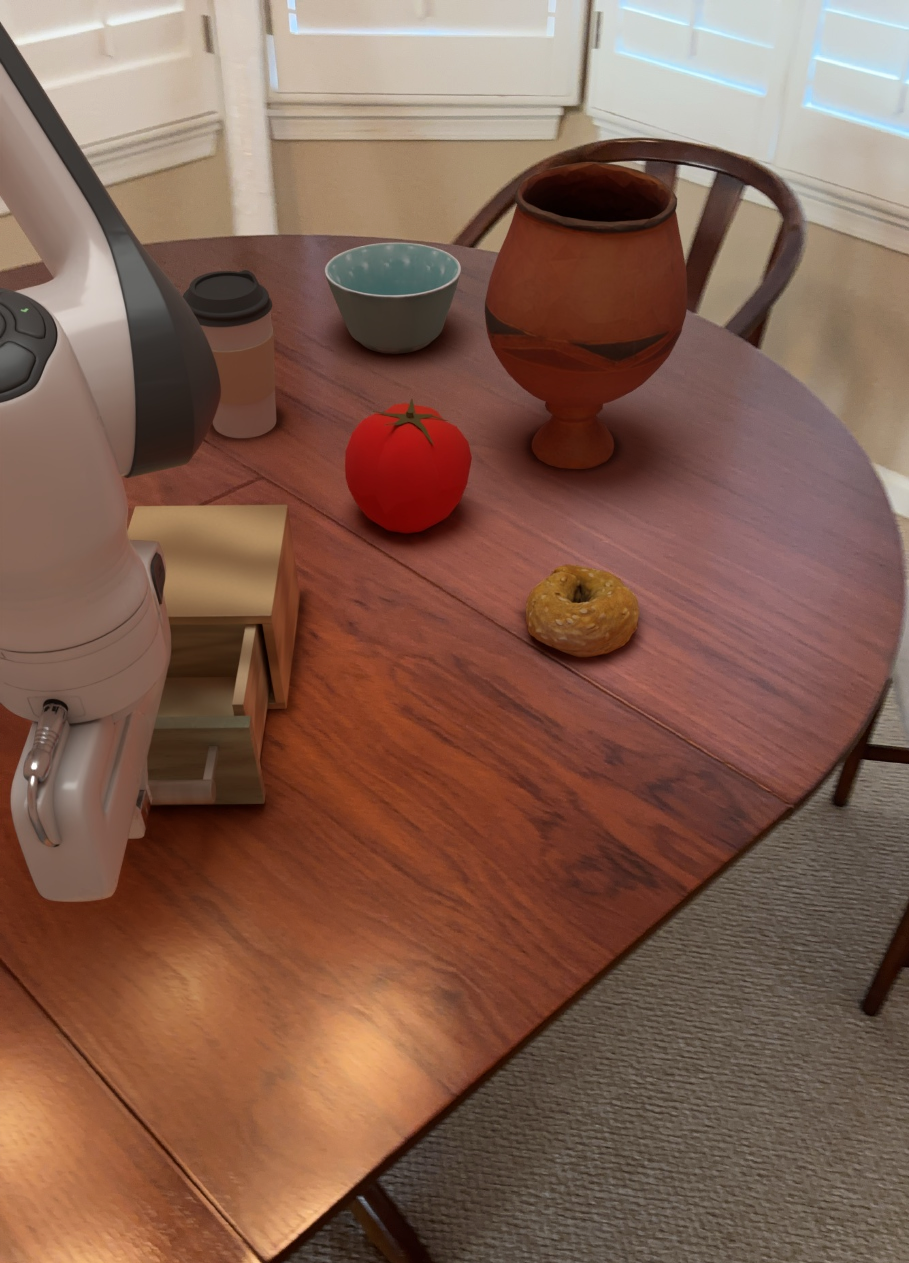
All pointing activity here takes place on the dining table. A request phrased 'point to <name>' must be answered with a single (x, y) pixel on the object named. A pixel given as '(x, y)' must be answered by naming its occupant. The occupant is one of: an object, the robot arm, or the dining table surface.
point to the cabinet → (230, 573)
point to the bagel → (582, 611)
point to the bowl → (393, 293)
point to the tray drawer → (211, 717)
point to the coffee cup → (238, 349)
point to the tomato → (407, 467)
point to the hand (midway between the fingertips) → (135, 820)
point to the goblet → (586, 298)
